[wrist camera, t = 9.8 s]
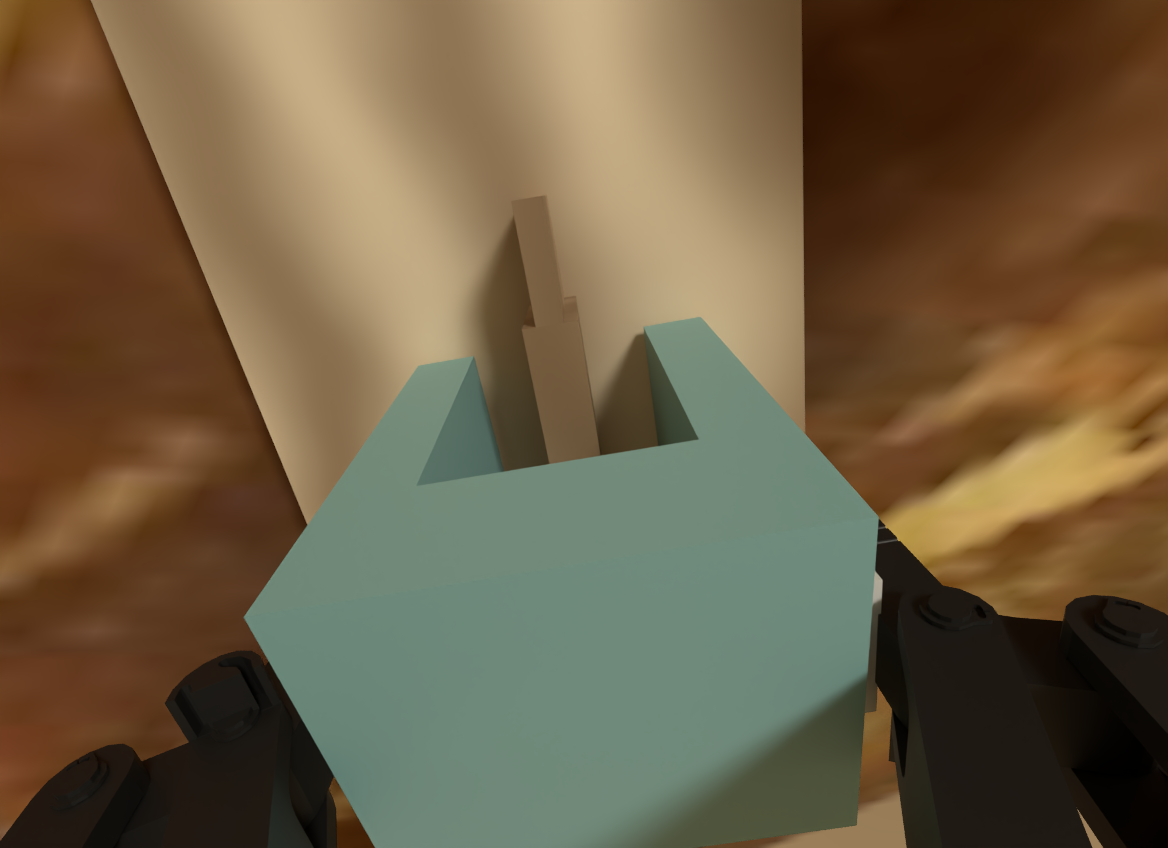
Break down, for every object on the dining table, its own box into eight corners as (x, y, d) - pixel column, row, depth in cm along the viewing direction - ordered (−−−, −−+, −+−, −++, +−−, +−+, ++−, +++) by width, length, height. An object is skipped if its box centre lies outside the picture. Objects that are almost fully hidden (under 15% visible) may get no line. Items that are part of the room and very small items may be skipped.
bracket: (474, 546, 17) (398, 888, 9) (418, 365, 15) (243, 617, 7) (716, 508, 17) (856, 825, 9) (701, 316, 15) (878, 516, 6)
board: (443, 781, 24) (415, 920, 20) (66, -207, 12) (-244, -454, 7) (788, 734, 24) (842, 864, 19) (760, -349, 12) (891, -708, 7)
